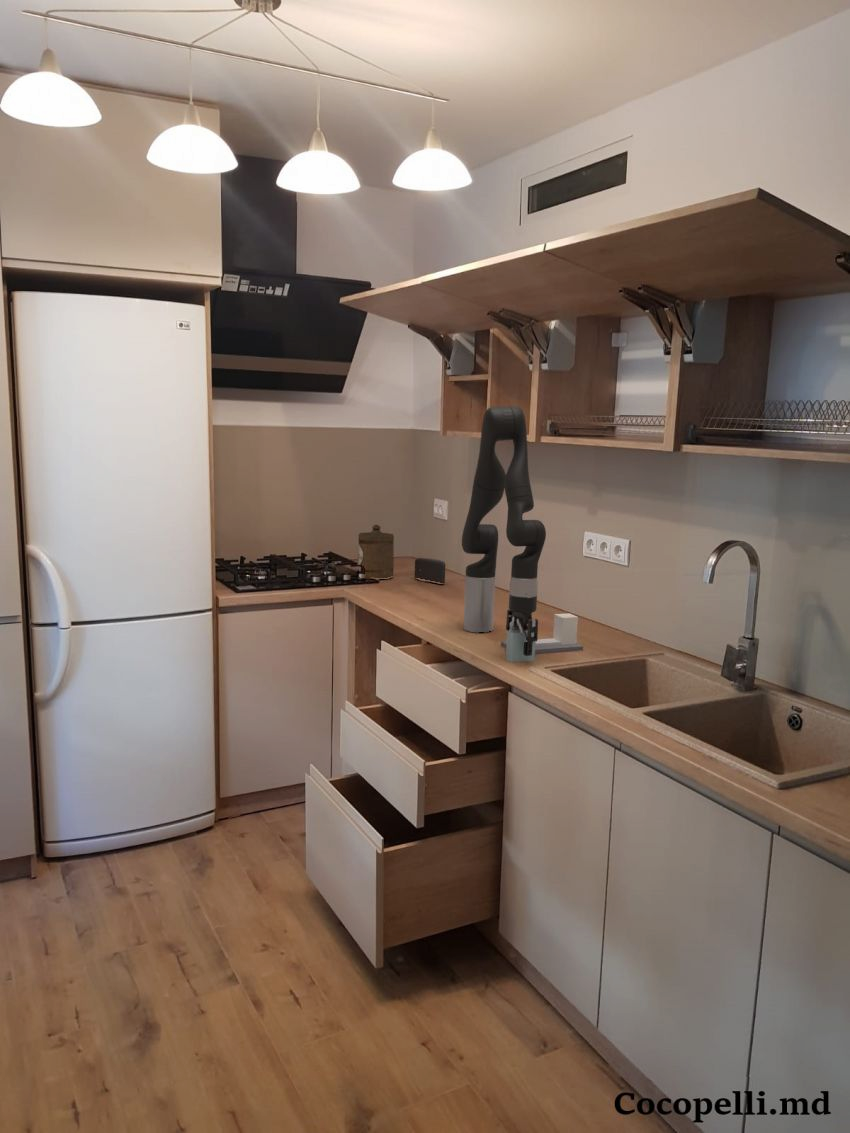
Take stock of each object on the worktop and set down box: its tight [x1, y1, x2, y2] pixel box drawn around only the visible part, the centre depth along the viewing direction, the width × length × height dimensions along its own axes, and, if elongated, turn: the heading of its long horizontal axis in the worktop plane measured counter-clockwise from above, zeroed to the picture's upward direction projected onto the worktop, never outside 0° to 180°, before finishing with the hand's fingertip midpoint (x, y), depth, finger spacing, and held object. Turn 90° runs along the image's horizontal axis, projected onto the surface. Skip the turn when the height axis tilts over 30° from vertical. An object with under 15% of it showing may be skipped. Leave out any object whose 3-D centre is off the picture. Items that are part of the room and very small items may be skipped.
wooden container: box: [357, 524, 395, 578], centre depth 351 cm, size 15×15×22 cm
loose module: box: [505, 630, 536, 663], centre depth 231 cm, size 4×7×8 cm, turn 111°
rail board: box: [500, 612, 584, 655], centre depth 245 cm, size 11×21×9 cm, turn 111°
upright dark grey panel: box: [414, 557, 446, 583], centre depth 344 cm, size 16×5×9 cm, turn 47°
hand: (520, 651), depth 231 cm, fingers open, 8 cm apart
